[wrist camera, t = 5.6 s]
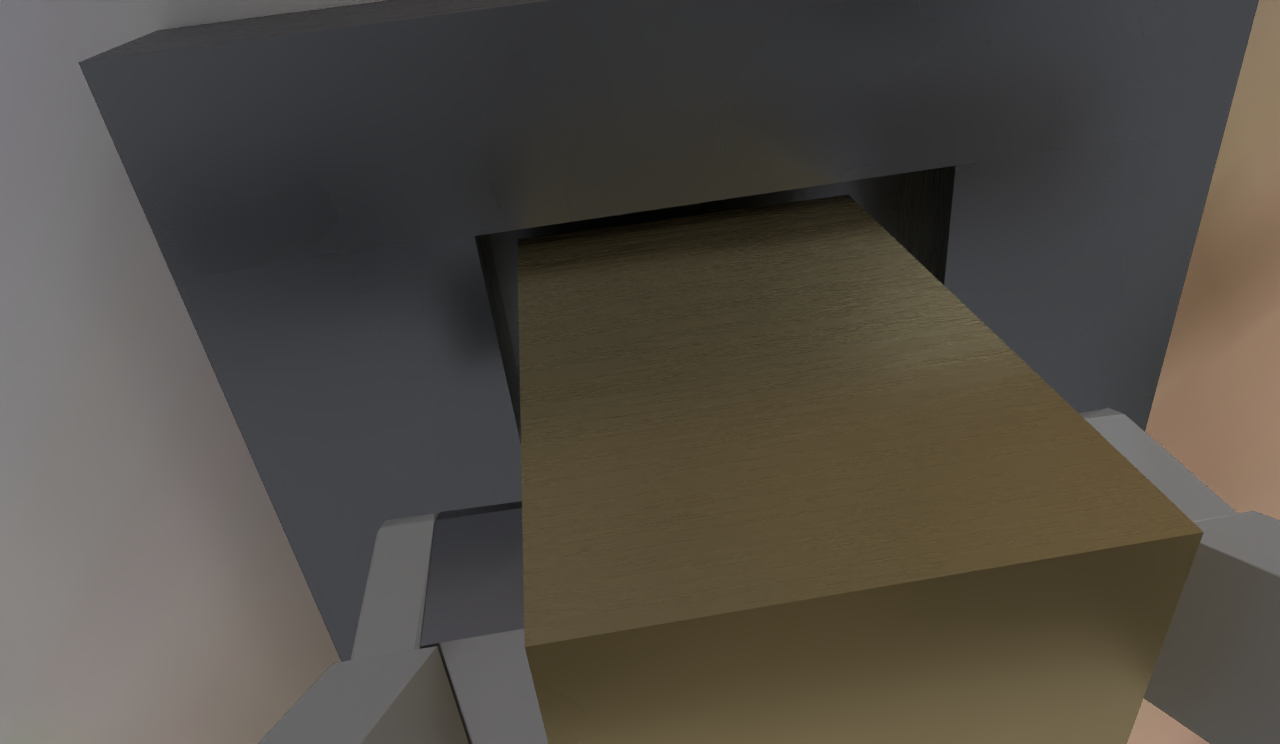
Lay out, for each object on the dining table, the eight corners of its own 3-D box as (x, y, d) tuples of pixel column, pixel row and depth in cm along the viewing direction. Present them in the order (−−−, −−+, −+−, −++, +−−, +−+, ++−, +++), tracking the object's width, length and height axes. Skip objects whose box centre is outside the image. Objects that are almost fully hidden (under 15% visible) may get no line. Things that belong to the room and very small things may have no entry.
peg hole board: (158, 29, 9) (77, 62, 8) (1154, -100, 10) (1284, -96, 8) (497, 914, 20) (495, 1011, 18) (977, 821, 20) (1019, 906, 19)
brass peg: (517, 239, 10) (522, 645, 5) (848, 194, 10) (1204, 532, 5) (564, 500, 12) (605, 977, 7) (836, 456, 12) (1075, 884, 7)
